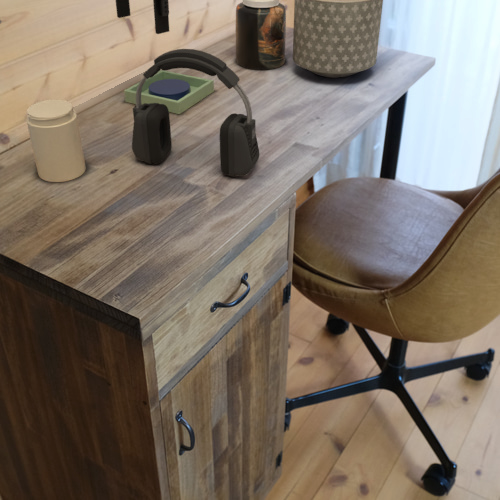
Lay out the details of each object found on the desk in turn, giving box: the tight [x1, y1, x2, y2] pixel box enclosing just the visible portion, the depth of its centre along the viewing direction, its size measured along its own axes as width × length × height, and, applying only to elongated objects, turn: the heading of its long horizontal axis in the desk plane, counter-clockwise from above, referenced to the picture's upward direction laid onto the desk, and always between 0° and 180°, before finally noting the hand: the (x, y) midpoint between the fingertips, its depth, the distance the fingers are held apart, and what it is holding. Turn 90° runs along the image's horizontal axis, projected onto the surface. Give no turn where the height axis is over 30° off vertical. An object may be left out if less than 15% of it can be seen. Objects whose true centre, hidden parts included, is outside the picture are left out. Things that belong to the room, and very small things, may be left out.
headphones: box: [131, 48, 260, 178], centre depth 108 cm, size 22×6×20 cm, turn 72°
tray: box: [123, 69, 215, 115], centre depth 137 cm, size 14×14×2 cm
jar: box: [235, 0, 287, 71], centre depth 151 cm, size 12×12×15 cm
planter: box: [292, 0, 384, 79], centre depth 144 cm, size 19×19×18 cm
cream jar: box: [25, 99, 87, 183], centre depth 108 cm, size 8×8×12 cm
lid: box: [149, 79, 191, 101], centre depth 137 cm, size 9×9×2 cm
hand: (142, 24), depth 129 cm, fingers open, 13 cm apart
